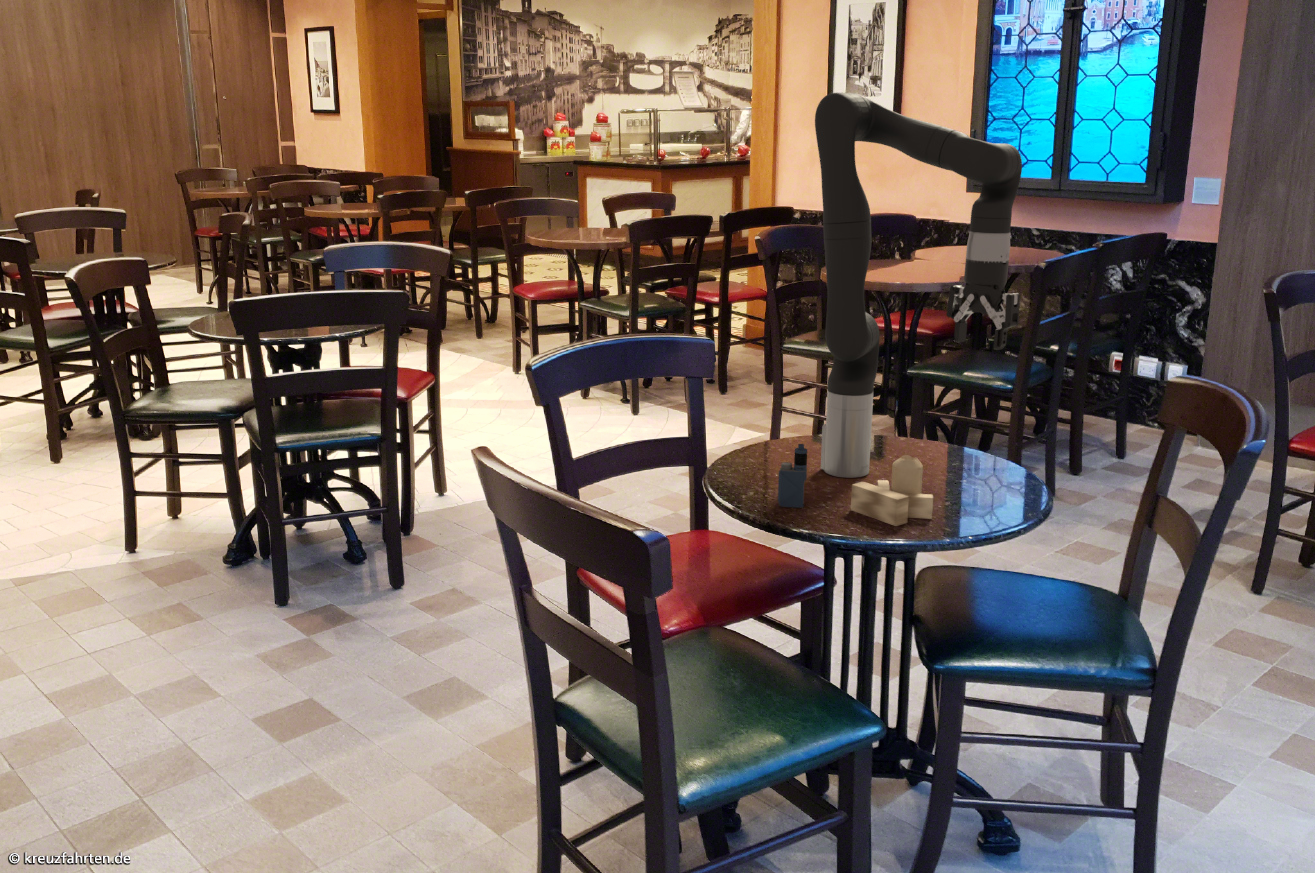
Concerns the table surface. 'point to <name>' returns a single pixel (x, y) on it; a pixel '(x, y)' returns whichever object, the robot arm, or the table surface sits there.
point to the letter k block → (889, 503)
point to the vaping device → (793, 480)
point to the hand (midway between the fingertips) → (979, 345)
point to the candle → (907, 475)
